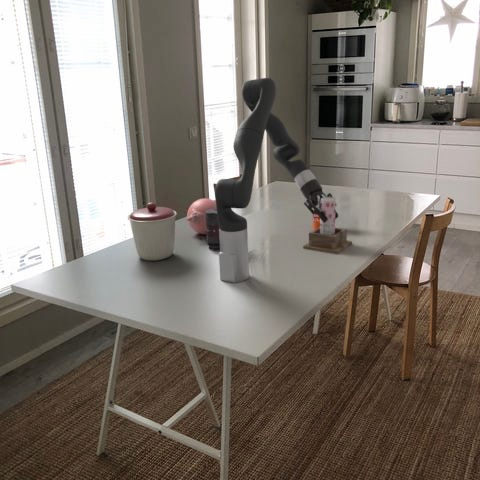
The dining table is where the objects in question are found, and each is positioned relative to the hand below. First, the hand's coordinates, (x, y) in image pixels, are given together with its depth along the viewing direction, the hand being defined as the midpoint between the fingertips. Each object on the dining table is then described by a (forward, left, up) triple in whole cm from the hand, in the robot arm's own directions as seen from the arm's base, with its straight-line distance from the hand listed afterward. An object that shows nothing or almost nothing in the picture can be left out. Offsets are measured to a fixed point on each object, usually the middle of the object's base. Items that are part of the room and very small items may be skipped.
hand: (331, 219), depth 197 cm
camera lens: (-22, +39, -11) cm, 46 cm away
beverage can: (0, +2, -7) cm, 8 cm away
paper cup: (+20, +15, -11) cm, 27 cm away
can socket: (0, +2, -11) cm, 11 cm away
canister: (-41, +54, -11) cm, 68 cm away
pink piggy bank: (-11, +55, -11) cm, 57 cm away
